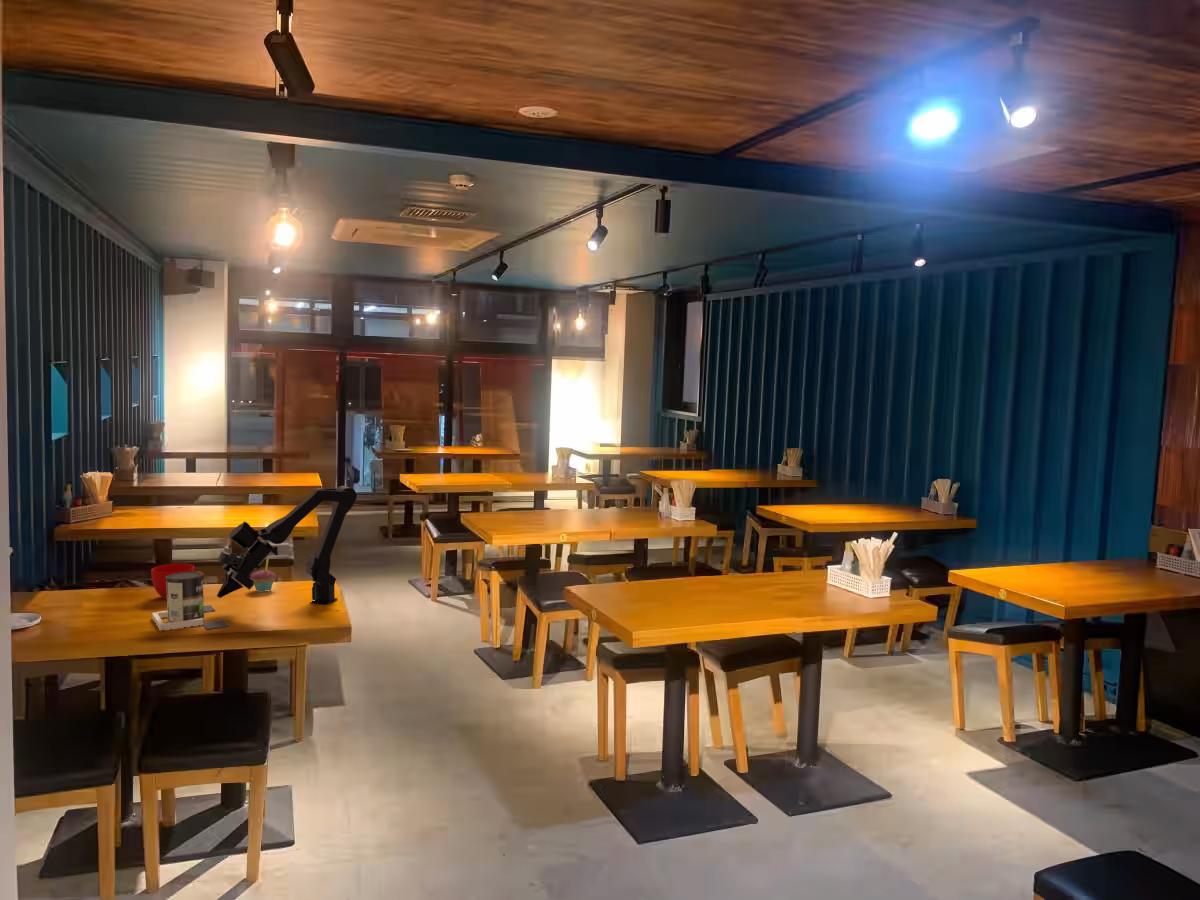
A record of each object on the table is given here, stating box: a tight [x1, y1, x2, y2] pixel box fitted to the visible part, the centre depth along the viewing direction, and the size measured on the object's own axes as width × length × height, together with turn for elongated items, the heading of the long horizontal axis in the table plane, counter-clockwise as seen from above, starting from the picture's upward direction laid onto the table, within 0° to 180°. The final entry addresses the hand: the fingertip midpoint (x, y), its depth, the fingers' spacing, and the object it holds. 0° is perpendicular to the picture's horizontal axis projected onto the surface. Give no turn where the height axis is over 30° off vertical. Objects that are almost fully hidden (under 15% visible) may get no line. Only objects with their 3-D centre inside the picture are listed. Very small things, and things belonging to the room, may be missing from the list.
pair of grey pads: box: [202, 604, 230, 631], centre depth 269 cm, size 6×27×1 cm, turn 35°
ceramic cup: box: [150, 563, 205, 600], centre depth 291 cm, size 13×17×10 cm
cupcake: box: [250, 558, 277, 591], centre depth 301 cm, size 9×8×12 cm
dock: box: [151, 610, 204, 631], centre depth 264 cm, size 12×15×2 cm
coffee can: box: [166, 571, 205, 623], centre depth 264 cm, size 10×10×14 cm
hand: (218, 596), depth 270 cm, fingers closed
